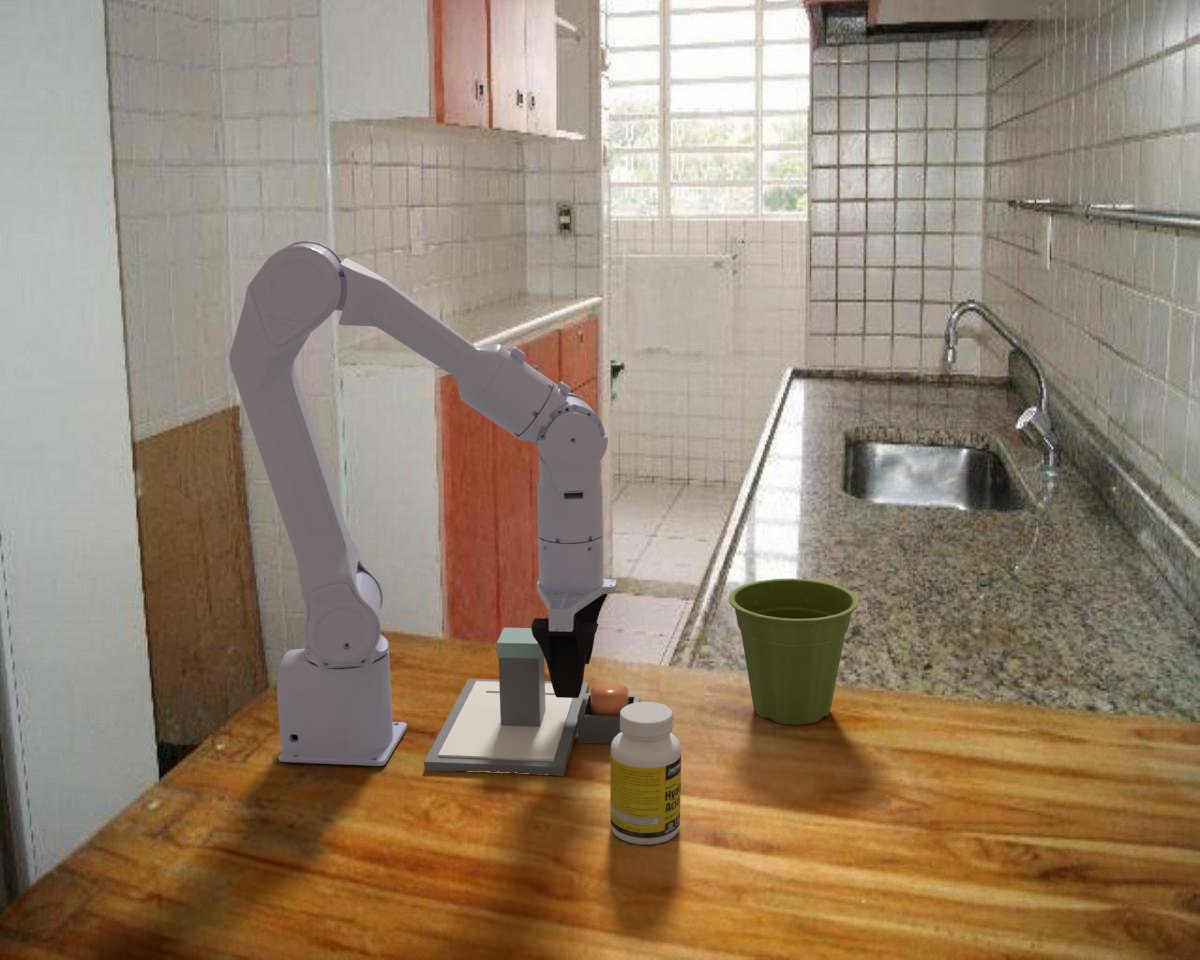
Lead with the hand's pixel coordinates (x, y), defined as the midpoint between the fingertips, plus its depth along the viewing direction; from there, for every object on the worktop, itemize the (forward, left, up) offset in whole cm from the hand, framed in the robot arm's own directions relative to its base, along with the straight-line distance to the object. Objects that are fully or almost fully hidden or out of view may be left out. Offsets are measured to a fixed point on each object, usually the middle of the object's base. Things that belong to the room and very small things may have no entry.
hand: (573, 678), depth 111 cm
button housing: (+3, 0, -5) cm, 6 cm away
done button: (+3, 0, -3) cm, 4 cm away
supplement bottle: (+8, -17, -5) cm, 19 cm away
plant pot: (+20, +6, -5) cm, 21 cm away
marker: (-5, 0, -4) cm, 6 cm away
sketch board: (-6, 0, -5) cm, 8 cm away
